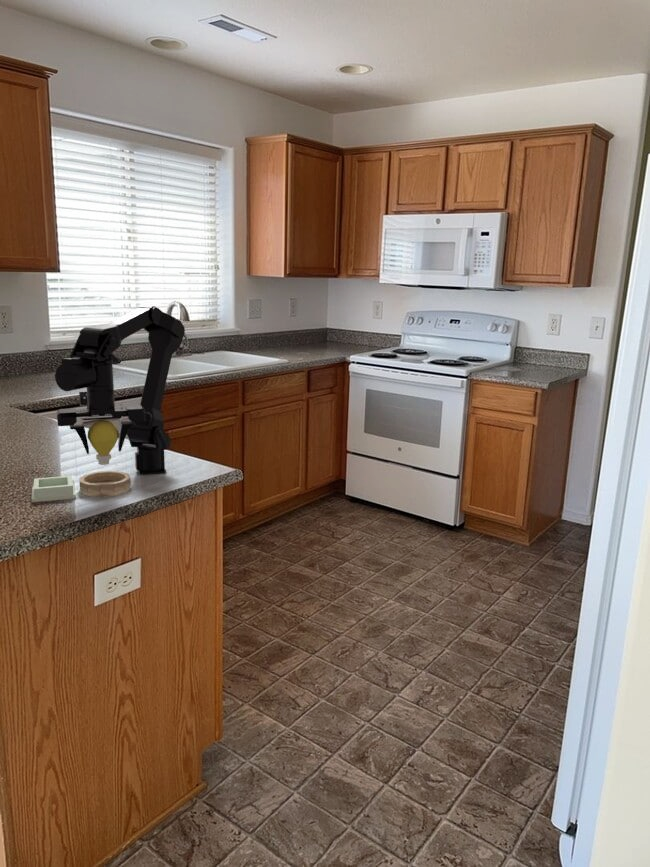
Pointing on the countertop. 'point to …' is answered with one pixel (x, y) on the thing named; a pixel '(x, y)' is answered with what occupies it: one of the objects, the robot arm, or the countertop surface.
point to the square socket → (53, 489)
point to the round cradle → (104, 483)
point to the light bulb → (103, 439)
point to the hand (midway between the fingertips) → (103, 452)
